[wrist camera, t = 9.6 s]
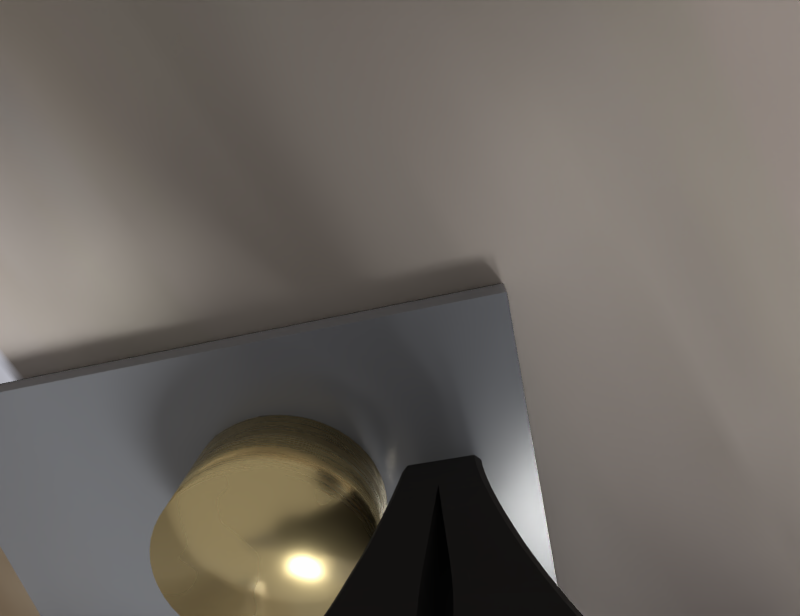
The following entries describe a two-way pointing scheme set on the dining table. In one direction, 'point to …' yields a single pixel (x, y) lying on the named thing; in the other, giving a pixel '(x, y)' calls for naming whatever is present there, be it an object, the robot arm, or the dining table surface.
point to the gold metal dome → (267, 521)
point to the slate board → (237, 401)
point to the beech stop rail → (13, 592)
